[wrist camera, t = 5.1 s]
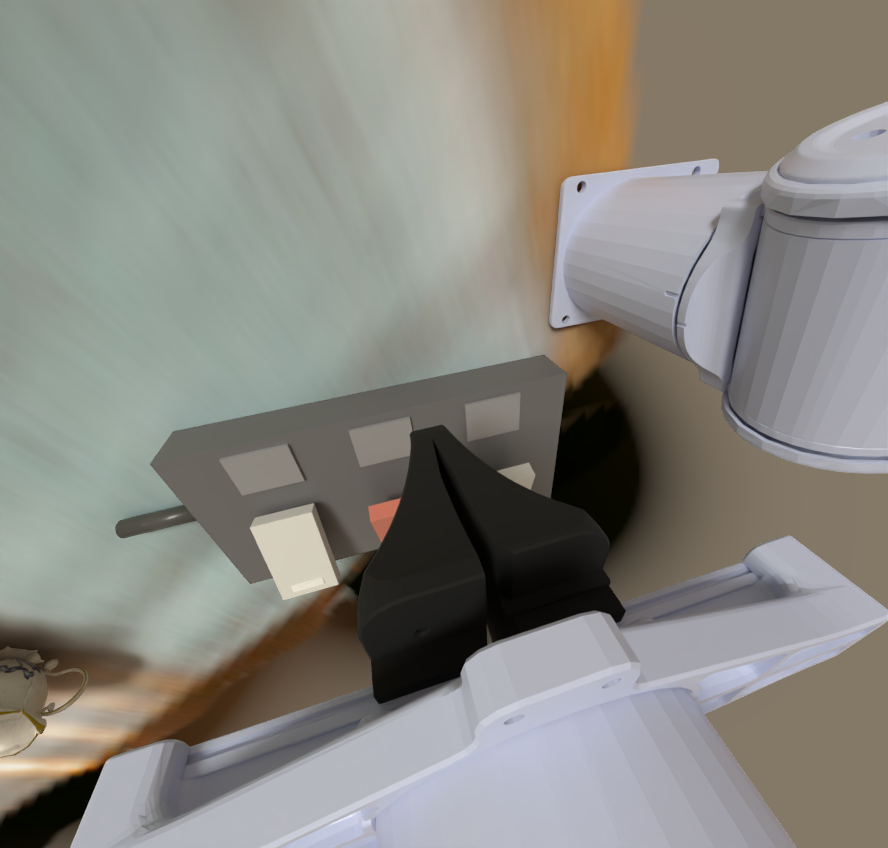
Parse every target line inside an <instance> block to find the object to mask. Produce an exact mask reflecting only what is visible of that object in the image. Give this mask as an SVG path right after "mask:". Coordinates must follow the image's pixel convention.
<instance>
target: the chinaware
mask: <svg viewBox="0 0 888 848" xmlns="http://www.w3.org/2000/svg"><path fill="white" fill-rule="evenodd" d="M38 651H39V650H26V649H15V648H10V647H5V649H2V650H0V757H6V756H13V755H16V754H18V753H20V752H21V751H23V750H24V749H26V748H27V747H29V746H30V745H31V743H32V742H33V741H34V739H35V738H36V737H37V735H38V734H42V733H43V731H44V729H45V727H46V724H47V723H46V720H45V719H42V716H49V715H53V714H56V713H59V712H61V711H63V710H65V709H66V708H68V707H69V706H70V705H72V704H73V703H74V702H75V701H76V700H77V699H78V698H79V697H80V696H81V694H82V693H83V692H84V690H85V688H86V686H87V684H88V679H89V677H88V673H87V671H86V670H85V669H84V668H82V667H71V668H68V669H65V670H62V671H59V672H51V671H50V670H52V669H54V668H55V667H56V666H57V665H58V659H53V660H50V661H48V662H47V663H45V664H44V666H43V668H42V670H43V671H44V672H43V671H42V670H41V669H40V668H39V667H38V666H37V665H35V664H36V663H41V662H44V660H41V658H40V656H39V654H38V653H37V652H38ZM72 671H78V672H80V673H81V674H82V675H83V678H84V681H83V684H82V686H81V688H80V690H79V691H78V692H77V693H76V695H75V696H74V697H73V698H72V699H70V700H69V701H68V702H67V703H66V704H64V705H63V706H61V707H59V708H58V709H55V710H53V709H54V706H55V703H50V704H49V705H48V706H47V707H45V708H44V706H45V703H46V700H47V695H48V682H47V678H46V675H49V676H57V675H61V674H64V673H67V672H72ZM45 710H48V711H49V712H45ZM52 710H53V711H52Z"/></svg>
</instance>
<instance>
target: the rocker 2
mask: <svg viewBox="0 0 888 848" xmlns="http://www.w3.org/2000/svg"><path fill="white" fill-rule="evenodd" d="M497 472H499V473H501V474H502V475H504V476H505V477H507V478H509V479H511V480H512V481H514V482H516V483H518V484H520V485H522V486H524V487H526V488H528V489H530V490H531V487H532V484H533V481H534V478H535V473H534V471H533V470H532V468H531V466H530V464H529V463H525V464H521V465H517V466H514V467H510V468H506V469H502V470H498V471H497Z"/></svg>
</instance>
